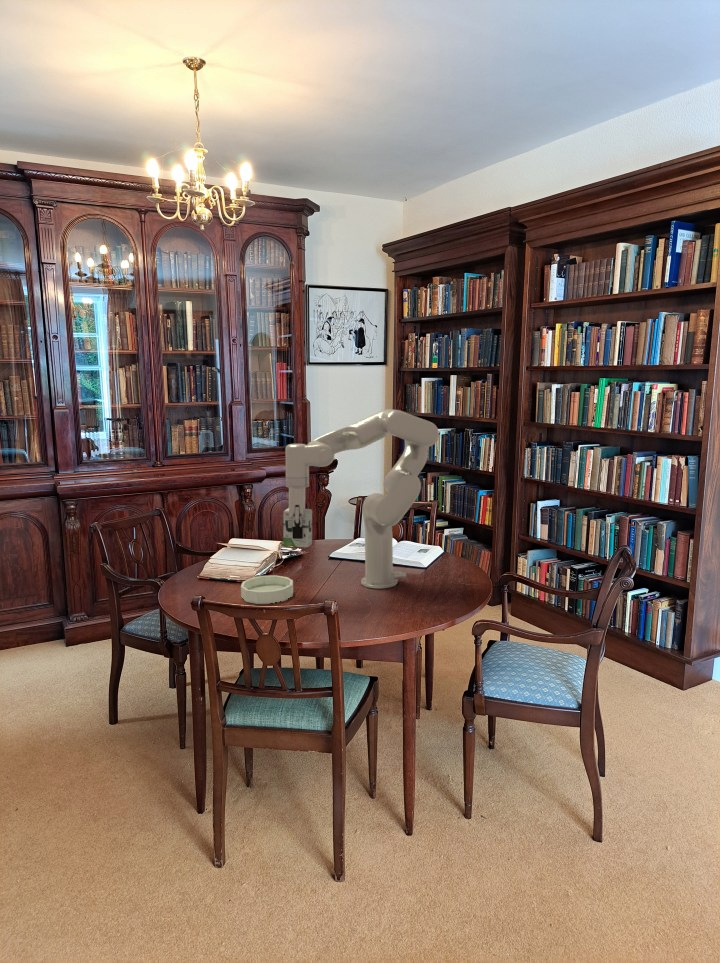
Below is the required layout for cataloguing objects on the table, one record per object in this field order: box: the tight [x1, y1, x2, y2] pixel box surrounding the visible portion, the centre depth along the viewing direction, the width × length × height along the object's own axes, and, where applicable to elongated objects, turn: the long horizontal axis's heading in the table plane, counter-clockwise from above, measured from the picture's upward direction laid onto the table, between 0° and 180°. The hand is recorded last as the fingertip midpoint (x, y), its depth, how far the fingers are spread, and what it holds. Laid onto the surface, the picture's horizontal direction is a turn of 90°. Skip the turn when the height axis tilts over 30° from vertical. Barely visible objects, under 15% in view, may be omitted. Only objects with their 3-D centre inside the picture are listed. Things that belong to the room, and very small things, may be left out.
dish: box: [240, 574, 294, 605], centre depth 214 cm, size 17×17×4 cm
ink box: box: [282, 507, 313, 548], centre depth 211 cm, size 9×5×12 cm, turn 75°
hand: (297, 535), depth 212 cm, fingers closed on ink box, 6 cm apart
